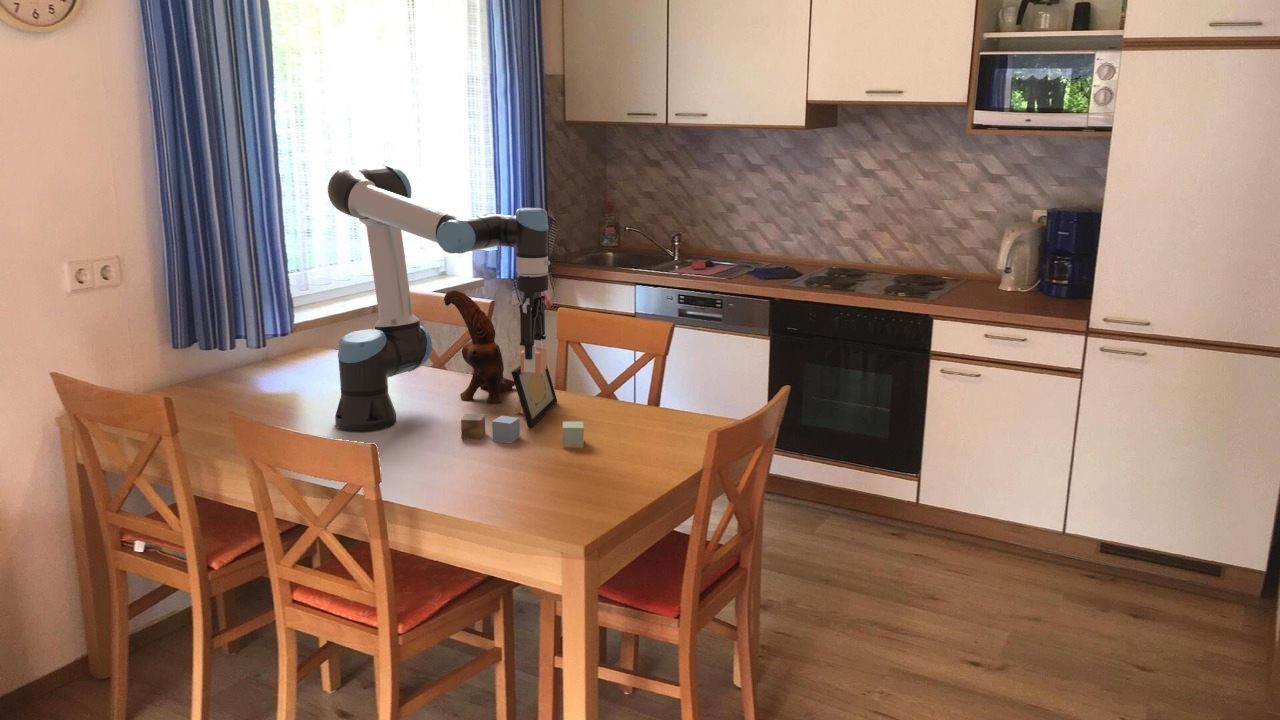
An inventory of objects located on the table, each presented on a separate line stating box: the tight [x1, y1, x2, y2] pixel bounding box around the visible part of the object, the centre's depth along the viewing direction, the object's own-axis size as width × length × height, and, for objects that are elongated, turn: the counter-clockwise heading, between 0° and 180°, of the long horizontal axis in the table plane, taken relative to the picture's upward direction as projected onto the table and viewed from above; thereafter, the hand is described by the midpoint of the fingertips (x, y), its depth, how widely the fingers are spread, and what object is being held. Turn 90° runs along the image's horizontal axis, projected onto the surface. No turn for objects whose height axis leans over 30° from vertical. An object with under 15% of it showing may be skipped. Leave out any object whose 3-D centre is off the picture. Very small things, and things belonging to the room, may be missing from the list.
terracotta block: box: [520, 347, 548, 374], centre depth 242 cm, size 5×5×5 cm
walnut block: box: [460, 413, 486, 440], centre depth 247 cm, size 5×5×5 cm
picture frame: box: [510, 364, 558, 429], centre depth 265 cm, size 23×9×15 cm, turn 168°
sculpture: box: [443, 290, 516, 405], centre depth 280 cm, size 19×18×30 cm
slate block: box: [491, 415, 521, 444], centre depth 246 cm, size 5×5×5 cm
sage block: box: [562, 421, 585, 448], centre depth 242 cm, size 5×5×5 cm
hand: (533, 368), depth 243 cm, fingers closed on terracotta block, 5 cm apart
